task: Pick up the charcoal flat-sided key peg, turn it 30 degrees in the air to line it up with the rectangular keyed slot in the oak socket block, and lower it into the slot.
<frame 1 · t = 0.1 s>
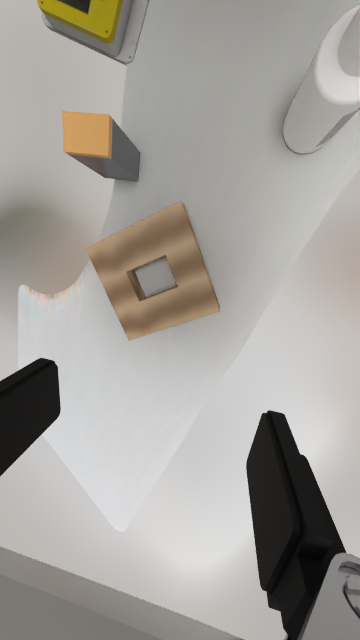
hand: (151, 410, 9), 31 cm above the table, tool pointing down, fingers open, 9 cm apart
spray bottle: (308, 126, 29), on the table
key peg: (121, 165, 35), on the table
socket block: (157, 277, 39), on the table
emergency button: (97, 6, 30), on the table
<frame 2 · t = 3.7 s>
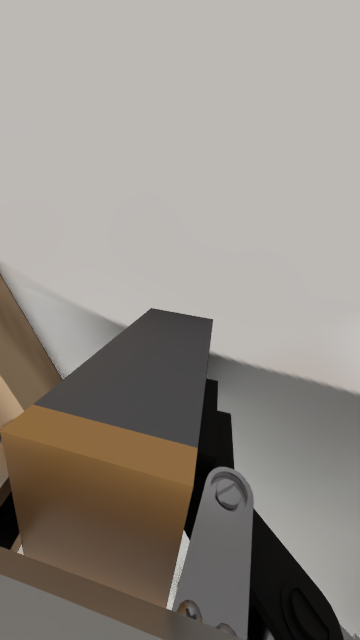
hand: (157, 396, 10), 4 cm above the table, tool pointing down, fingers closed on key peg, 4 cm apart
key peg: (175, 355, 14), on the table, touching gripper
when the fingers open (5 cm above the table, at t = 9.7 s): key peg stays where it is, resting in socket block.
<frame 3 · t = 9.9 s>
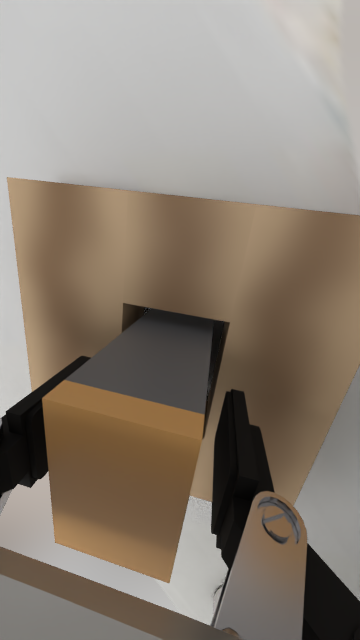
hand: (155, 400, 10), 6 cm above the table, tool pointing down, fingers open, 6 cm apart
key peg: (179, 349, 15), resting in socket block
socket block: (178, 349, 15), on the table
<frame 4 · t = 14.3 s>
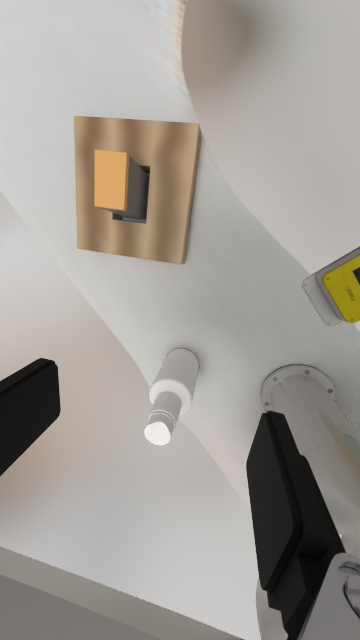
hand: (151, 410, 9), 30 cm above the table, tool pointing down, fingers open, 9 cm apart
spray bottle: (182, 362, 43), on the table
key peg: (139, 199, 35), resting in socket block
socket block: (138, 199, 35), on the table
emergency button: (359, 279, 33), on the table
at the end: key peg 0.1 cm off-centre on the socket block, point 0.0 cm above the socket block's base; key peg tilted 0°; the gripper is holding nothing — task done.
